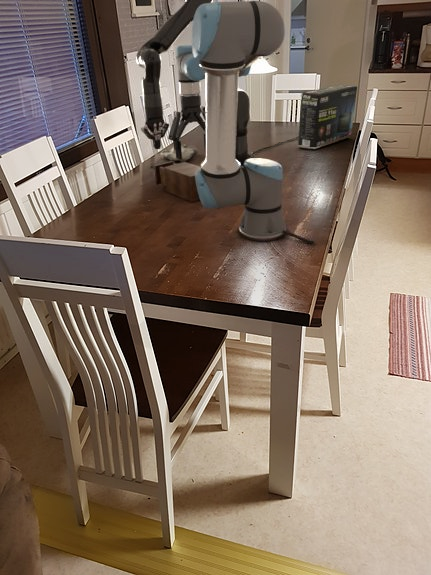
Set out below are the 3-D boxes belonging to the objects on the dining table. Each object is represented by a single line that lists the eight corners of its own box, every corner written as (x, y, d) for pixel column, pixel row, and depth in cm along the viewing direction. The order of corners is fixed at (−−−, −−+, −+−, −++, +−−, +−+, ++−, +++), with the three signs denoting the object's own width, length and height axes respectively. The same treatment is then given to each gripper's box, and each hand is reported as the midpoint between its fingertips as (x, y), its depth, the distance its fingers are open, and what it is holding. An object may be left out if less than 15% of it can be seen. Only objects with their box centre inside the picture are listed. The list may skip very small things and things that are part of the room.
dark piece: (148, 181, 197) (145, 162, 193) (165, 176, 202) (164, 158, 198) (178, 193, 182) (176, 173, 178) (196, 187, 187) (195, 168, 183)
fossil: (184, 156, 217) (163, 136, 220) (174, 174, 223) (154, 154, 227) (205, 153, 231) (186, 134, 234) (195, 171, 237) (176, 152, 240)
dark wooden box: (165, 191, 187) (163, 167, 182) (186, 185, 193) (184, 161, 188) (192, 202, 176) (190, 176, 171) (213, 195, 181) (212, 170, 176)
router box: (314, 151, 231) (318, 94, 217) (296, 148, 237) (299, 92, 224) (352, 138, 251) (358, 85, 238) (335, 135, 258) (340, 83, 245)
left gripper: (161, 101, 188) (165, 144, 197) (133, 106, 181) (139, 150, 190) (172, 103, 183) (175, 147, 192) (144, 108, 176) (149, 153, 185)
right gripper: (210, 89, 171) (212, 146, 182) (154, 98, 158) (160, 159, 169) (223, 91, 166) (225, 150, 177) (167, 100, 153) (172, 163, 164)
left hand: (157, 148), depth 191 cm, fingers closed
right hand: (193, 155), depth 173 cm, fingers open, 13 cm apart
